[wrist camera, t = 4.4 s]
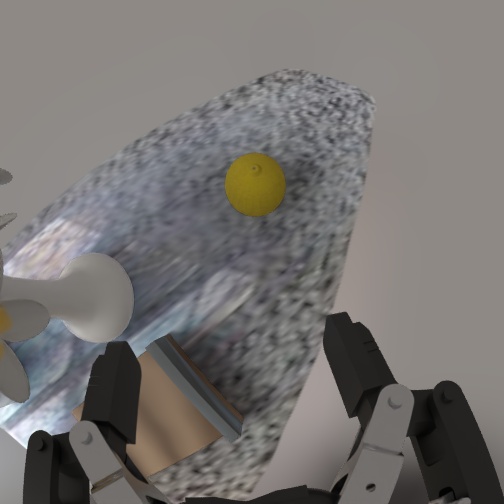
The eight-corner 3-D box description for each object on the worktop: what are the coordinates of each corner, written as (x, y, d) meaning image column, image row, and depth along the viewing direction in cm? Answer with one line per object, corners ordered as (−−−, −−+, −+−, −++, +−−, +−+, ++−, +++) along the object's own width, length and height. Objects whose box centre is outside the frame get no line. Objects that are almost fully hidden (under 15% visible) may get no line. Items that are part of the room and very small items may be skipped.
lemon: (258, 165, 30) (257, 126, 22) (293, 201, 30) (304, 171, 22) (218, 197, 30) (205, 166, 22) (253, 235, 29) (250, 216, 21)
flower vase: (122, 196, 30) (-43, 73, 6) (187, 347, 28) (1, 479, 3) (46, 248, 30) (-115, 203, 5) (98, 385, 28) (-67, 464, 3)
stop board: (138, 477, 26) (125, 494, 21) (77, 408, 27) (57, 419, 23) (243, 417, 27) (240, 436, 23) (169, 333, 28) (154, 340, 24)
